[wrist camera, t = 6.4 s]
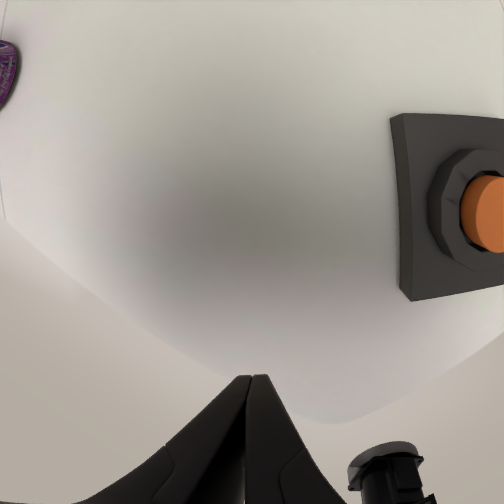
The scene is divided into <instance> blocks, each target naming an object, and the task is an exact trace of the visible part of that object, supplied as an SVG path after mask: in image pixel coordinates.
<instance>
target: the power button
mask: <svg viewBox="0 0 504 504" xmlns="http://www.w3.org/2000/svg"><path fill="white" fill-rule="evenodd" d="M460 218H461V223H462V227H463V229H464V231H465V233H466V235H467V236H468V238H469V239H470V240H471V241H472V242H474V243H476V244H478V245H480V246H482V247H484V248H485V249H487V250H489V251H491V252H494V253H502V252H504V177H497V176H490V175H483V176H480V177H478V178H476V179H474V180H473V181H472V182H471V183H470V184H469V185H468V187H467V188H466V190H465V192H464V194H463V197H462V201H461V207H460Z"/></svg>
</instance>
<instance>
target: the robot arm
mask: <svg viewBox="0 0 504 504" xmlns="http://www.w3.org/2000/svg"><path fill="white" fill-rule="evenodd" d="M423 461H424V458H423V456H374V457H372V458H371V459H370V461H369V462H368V463H367V464H366V466H365V467H364V468H363V469H362V470H361V472H360V473H359V474H358V475H357V476H356V478H355V479H354V480H353V481H352V482H351V483H350V485H349V486H348V490H349V491H361V497H362V504H437V503H436V500H435V496H434V494H431V495H429V496H428V497H426V498H424V495H423V492H422V488H421V487H422V482H421V479H420V476H419V473H418V469H417V468H418V467H419V465H420V464H421V463H422V462H423ZM244 500H245V504H347V503H345V501H344V500H343V499H342V498H341V496H339V494H338V493H337V492H336V491H335V489H333V487H332V486H331V485H330V484H329V482H328V481H327V479H326V478H325V477H324V476H323V474H322V473H321V472H320V470H319V468H318V467H317V465H316V464H315V462H314V461H313V459H312V457H311V455H310V453H309V452H308V450H307V448H306V447H305V445H304V443H303V441H302V439H301V437H300V435H299V433H298V432H297V430H296V428H295V426H294V424H293V422H292V420H291V418H290V417H289V415H288V413H287V411H286V409H285V407H284V405H283V403H282V401H281V399H280V397H279V395H278V394H277V392H276V390H275V388H274V386H273V384H272V382H271V380H270V378H269V376H268V375H267V374H259V375H254V376H253V377H252V376H251V375H239V376H237V377H236V378H235V379H234V380H233V381H232V382H231V383H230V384H229V385H228V386H227V387H226V388H225V389H224V390H223V391H222V392H221V393H220V394H219V395H217V396H216V398H215V399H213V400H212V401H211V402H210V403H209V404H208V405H207V406H206V407H205V408H204V409H203V410H202V411H201V412H200V413H199V414H198V415H197V416H196V417H195V418H193V419H192V420H191V422H189V423H188V424H187V425H186V426H185V427H184V428H183V429H182V430H181V431H179V432H178V433H177V434H176V435H175V436H174V437H173V438H172V439H171V440H170V441H168V442H167V443H166V445H165V446H163V447H161V448H160V449H159V450H158V451H157V452H156V453H155V454H154V455H152V456H151V457H150V458H149V459H147V460H146V461H145V462H144V463H142V464H141V465H140V466H138V467H137V468H135V469H134V470H133V471H131V472H130V473H128V474H127V475H126V476H124V477H122V478H121V479H119V480H118V481H116V482H115V483H113V484H111V485H110V486H108V487H107V488H105V489H103V490H102V491H100V492H98V493H97V494H96V495H93V496H92V497H90V498H88V499H86V500H83V501H81V502H77V503H73V504H244ZM0 504H25V503H11V502H2V501H0Z"/></svg>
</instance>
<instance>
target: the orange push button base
mask: <svg viewBox="0 0 504 504" xmlns="http://www.w3.org/2000/svg"><path fill="white" fill-rule="evenodd" d="M390 122H391V129H392V136H393V144H394V153H395V162H396V173H397V185H398V200H399V219H400V289H401V291H402V292H403V293H404V294H405V295H406V297H407V298H408V299H409V300H410V301H411V302H413V301H419V300H425V299H431V298H437V297H443V296H448V295H454V294H459V293H464V292H469V291H474V290H479V289H484V288H489V287H494V286H498V285H503V284H504V252H502V253H494V252H491V251H489V250H487V249H485V248H484V247H482V246H480V245H478V244H476V243H474V242H472V241H471V240H470V239H469V238H468V236H467V235H466V233H465V231H464V229H463V227H462V223H461V218H460V207H461V201H462V197H463V194H464V192H465V190H466V188H467V187H468V185H469V184H470V183H471V182H472V181H473V180H474V179H476V178H478V177H480V176H483V175H490V176H497V177H504V119H498V118H489V117H478V116H465V115H448V114H419V113H402V114H400V115H397V116H395V117H392V118H390Z"/></svg>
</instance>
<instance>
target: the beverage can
mask: <svg viewBox="0 0 504 504" xmlns="http://www.w3.org/2000/svg"><path fill="white" fill-rule="evenodd" d="M16 62H17V56H16V50H15V48H14V46H13V45H12V44H11V43H10V42H7V41H3V40H0V105H1V104H2V102H3V101H4V99H5V97H6V95H7V93H8V91H9V89H10V87H11V84H12V81H13V78H14V74H15V70H16Z"/></svg>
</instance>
